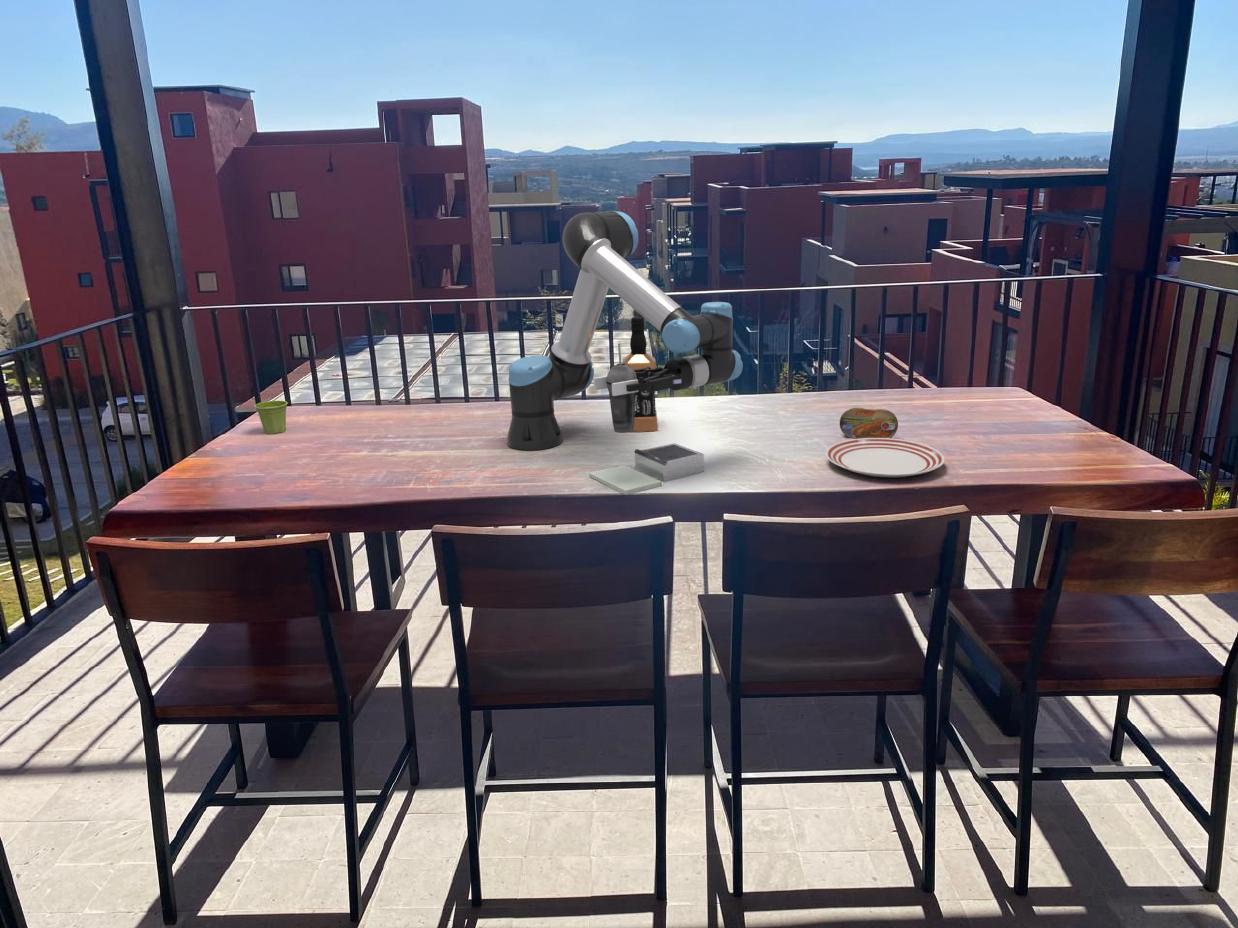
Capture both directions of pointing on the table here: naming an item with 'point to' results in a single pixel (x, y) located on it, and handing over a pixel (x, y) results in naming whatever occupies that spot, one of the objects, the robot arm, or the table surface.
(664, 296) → the robot arm
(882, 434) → the tin
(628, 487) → the sage mat
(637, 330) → the whiskey bottle
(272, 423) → the plant pot
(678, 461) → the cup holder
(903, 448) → the dinner plate
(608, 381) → the beverage cup
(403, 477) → the table surface
